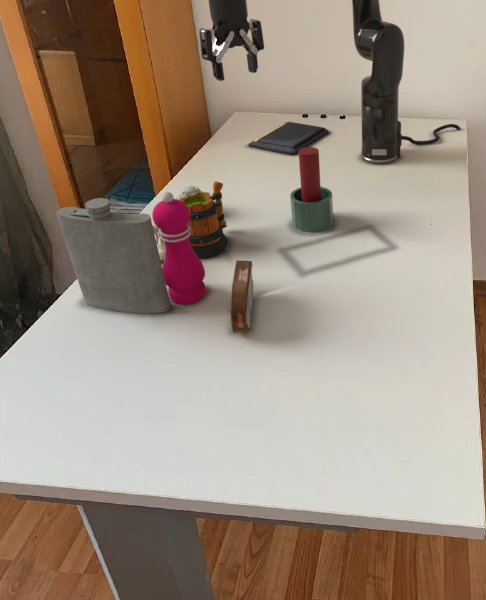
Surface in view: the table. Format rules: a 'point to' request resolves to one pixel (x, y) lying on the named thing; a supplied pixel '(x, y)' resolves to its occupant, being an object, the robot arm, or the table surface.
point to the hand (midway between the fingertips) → (236, 76)
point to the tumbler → (312, 212)
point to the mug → (206, 222)
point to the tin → (242, 296)
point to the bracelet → (162, 245)
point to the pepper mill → (179, 251)
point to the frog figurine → (187, 191)
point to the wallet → (289, 138)
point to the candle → (310, 174)
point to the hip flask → (115, 258)
